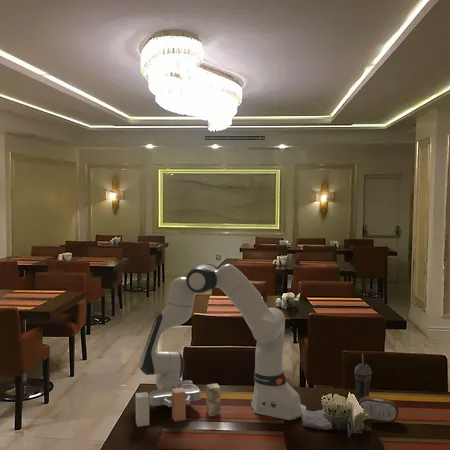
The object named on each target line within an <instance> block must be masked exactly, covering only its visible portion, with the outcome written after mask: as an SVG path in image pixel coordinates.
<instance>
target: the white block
mask: <svg viewBox="0 0 450 450" xmlns="http://www.w3.org/2000/svg"><path fill="white" fill-rule="evenodd" d="M148 394H149V393H148V392H147V391H145V392H144V391H143V392H136V393H135V424H136V426H137V427H138V428H139V427H145V426H150V398H149V395H148Z"/></svg>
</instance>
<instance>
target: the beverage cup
mask: <svg viewBox="0 0 450 450" xmlns="http://www.w3.org/2000/svg"><path fill="white" fill-rule="evenodd" d="M361 361H362V362H361V363H358V364H357V365H356V366H355V368H354V372H353V373H354V378H355V392H356V393H355V394H356V400H357V402H359V400H360V399H361V398H363V397H366V396H370V386H371V379H372V376H373V371H372V369H371V367H370V365H368V364H367V363H365V362H364V353H361Z"/></svg>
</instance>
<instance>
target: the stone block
mask: <svg viewBox="0 0 450 450" xmlns="http://www.w3.org/2000/svg"><path fill="white" fill-rule="evenodd" d="M323 410H324V409H318V410H315V411H312V410H308V409H306V410H304V411H303V412H302V413H301V416H300V418H301V421H302V426H303V427H305V428H310V429H316V430H322V431H323V430H325V431H327V430H333V429H332V425H331V423H330V422H329V421H328V420H327V419H325V417H324V413H323Z"/></svg>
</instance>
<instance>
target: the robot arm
mask: <svg viewBox="0 0 450 450" xmlns="http://www.w3.org/2000/svg"><path fill="white" fill-rule="evenodd" d="M215 288H218V289H220V291H222V292H223V293H224V294H225V296H226V297H227V298H228V299H229V301H230V302H231V303H232V304H233V305H234V307H236V309H237V310H238V312H240V314H241V315H242V317H243V319H244V321H245V322H246V324H247V326H248V328H249V329H250V332H251V333H252V336H253V338H254V340H255V341H256V346H255V352H254V353H255V355H254V356H255V357H254V359H255V361H254V363H255V367H254V370H253V382H254V388H253V396H252V399H251V403H250V406H251V408H252V409H253V412H254V413H255V414H258V415H262V416H266V417H272V418H276V419H281V420H287V421H291V420H297V418H298V419H299V418H301V413H302V412H303V411H304V410H307V406H306V405H304V404H302V403H301V398H300V397H301V396H300V394H299V393H298V392H297V391H296V390H295V389H294V388H293V387H292V385H290V384H289V383H288V382H287V379H288V378H289V374H287V375H285V373H284V371H283V365H284V364H283V361H284V359H283V355H284V354H283V353H284V343H285V341H284V340H285V331H286V330H285V329H286V327H285V326H286V318H285V314H284V313H283V311H282V310H281V309H279V308H277V307H268V305H267V303H266V302H265V301H264V298H263V297H262V294H261V292H260V291H259V290H258V289H257V288H256V287H255V285H254V284H253V282H251V281H250V280H249V279H248V277H246V275H244V274H243V272H242V271H241V270H239V268H237V267H236V266H235V265H233V264H231V263H226V264H223V265H221V266H220V267H219V268H218V267H217V266H216V265H214V264H211V263H205V264H199V265H197V266H195V267H193V268H192V269H190V270H189V272H188V273H187V275H186V276H178V277H176V278H175V279H174V280H172V283H171V286H170V289H169V292H168V297H167V302H166V305H165V307H164V308H163V310H162V311H161V312H159V313H158V314H157V316H155V320H154V321H153V325H152V326H151V329H150V332H149V335H148V339H147V340H146V341H147V342H146V343H145V346H144V349H143V352H142V354H141V355H140V358H139V364H138V365H139V370H141V372H142V373H143V374H145V375H146V376H151V375H153V376H154V375H155V384H156V388H157V389H156V390H151V391H150V392H149V393H148V395H149V406H152V407H156V406H166V407H168V408H172V389H175V388H183V389H184V390H185V392H186V406H187V405H191V402H195V401H196V402H197V401H199V400H201V399H202V396H201V395H202V394H201V389H200V388H199V387H198V385H195V384H193V381H192V380H185V379H182V377H183V376H184V372H185V367H186V366H185V359H184V357H183V355H182V354H181V352H179V351H173V350H170V351H169V350H157V347H158V345H159V341H160V339H161V336H162V334H163V333H164V332H165V331H166V330H168V329H170V328H173V327H177V326H180V325H183V324H184V323H185V324H186V322H187V321H188V320H189V319H190V318H191V316H192V314H193V309H194V305H195V299H196V298H195V297H196V295H197V294H204V293H206V292H209V291H211V290H214V289H215Z"/></svg>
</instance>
